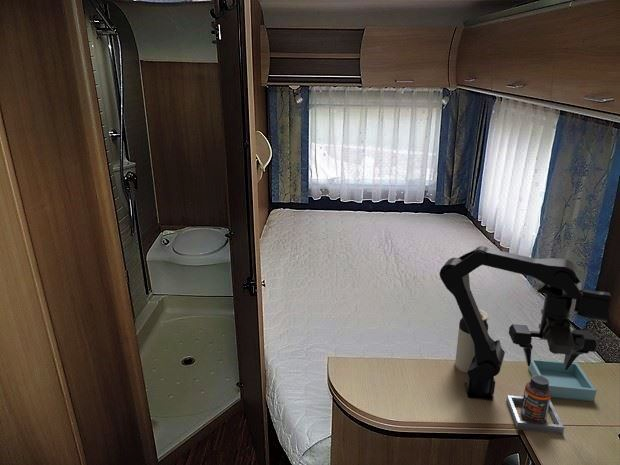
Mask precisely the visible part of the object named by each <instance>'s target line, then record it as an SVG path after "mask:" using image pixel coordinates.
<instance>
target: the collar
mask: <svg viewBox="0 0 620 465" xmlns="http://www.w3.org/2000/svg"><path fill="white" fill-rule="evenodd" d="M523 397H524V396H522V395H521V396H520V395H519V396H518V395H509V394H507V395H506V400H505V401H506V403H507V406H508V410H509V412H510V414H511V417H512V420H513V423H514V426H515V428H516V430H522V431H529V432H538V433H547V434H554V435H555V434H557V435H564V433H565V426H564V424H563V421H562V420H561V418H560V417H559V415H558V412H557V410H556V409H555V406H554V405H553V403H552V401H551V400H550V404H549V408H548V413H549V415H550V417H551V419H552V421H553V423H545V422H544V423H538V422H529V421H527V420H521V418H520V416H519V414H518V410H517V408H516V406H515V404H516V405H517V404H518V405H522V402H523Z"/></svg>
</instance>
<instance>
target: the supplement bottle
mask: <svg viewBox="0 0 620 465" xmlns="http://www.w3.org/2000/svg"><path fill="white" fill-rule="evenodd" d="M548 386H549V380H548V379H547V378H545V377H543V376H541V375H533V376H531V378H530V381H528V382H526V383H525V387H524V392H523V396H522V397H523V402H522V404H521V408H520V415H521V416H522V418H523V419H524V420H525V421H529V422H538V423H545V422H546V421H547V418H548V413H549V411H548V408H549V404H550V401H551V399H552V398H551V389H550V388H549V387H548Z"/></svg>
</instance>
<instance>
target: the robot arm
mask: <svg viewBox="0 0 620 465" xmlns="http://www.w3.org/2000/svg"><path fill="white" fill-rule="evenodd" d="M481 266H487V267H490V268H494V269H498V270H503V271H507V272H511V273H515V274H519V275H523V276H527V277H530V278H533V279H536V280H537V281H540V282H541V284H538V287H537V290H536V291H537V293H539V294H545V295H544V301H543V307H542V308H541V311H540V314H541V321H540V323H538V329H539V331H535V330H530V329H529V327H528V325H526V324H516V323H515V324H514V323H512V324H511V325H510V326H509V328H508V334H509V337H510V339H511V341H512V344H515V345H518V346H519V347H520V348H522V349H523V354H524V358H525V362H526V365H527V367H528V366H530V363H531V359H532V350H533V348H534V346H533V345H532V340H539V341H546V342H547V345H548V349H549V352H550V353H552V354H555V355H558V354H560V355H564V358H563V359H564V361H563V362H564V369H565V370H567V369H568V368H569V367H570V365H571V364H572V363H574V362H575V360H576V359H577V358H578V357H579V356H580V355H584V354H585V355H587V354H589V353H590V352H592V353H596V352H597V351H598V347H599V342H598V341H597V339H596V338H595V336H594V335H593V334H592V333H591V331H589V330H584V329H572V330H571V320H570V315H571V314H570V313H571V310H572V304H573V300H574V306H573V312H576V316H578V317H579V318H584V319H589V320H594V321H598V322H603V323H607V322H608V320H609V316H610V304H611V303H610V300H611V293H610V291H609V292H607V291H598V290H597V291H596V290H592V289H585V288H584V286H583V285H584V284H583V283H582V282H581V280H580V278H579V276H578V274H577V273H578V270H577V266H576V265H575V264H574V263H573V262H572V261H571V260H569V259H566V258H555V257H554V258H553V257H552V258H551V257H550V258H549V257H547V258H534V257H529V256H525V255H521V254H516V253H511V252H506V251H503V250H498V249H493V248H489V247H487V246H484V245H481V246H478V247H476V248H475V249H473V250H471V251H469V252H466V253H464V254H462V255H461V256H459V257H451V258H449V259H448V260H447V261H446V262H445V263H444V265H443V266H442V267H441V268H440V270H439V278H440V280H441V282H442V283H443V285H444V286H445V288H446V289H447V290H448V291H449V292H450V293H451V295H453V297H454V298H455V301H456V304H457V306H458V308H459V310H460V314H461V317H462V316H463V318H464V321H465V323H466V326H467V328H468V330H469V333H470V335H471V338H472V340H473V343H474V349H475V356H474V357H473V359H472V362H471V364H470V367H469V368H468V372H467V375H466V381H465V383H464V387H465V391H466V392H465V393H466V395H467V398H469V399H475V400H485V401H493V400H494V397H493V395H494V393H495V387H496V380H495V376H498V375H499V374H500V371H501V368H502V365H503V361H504V357H505V353H506V352H505V351H504V349H503V347H502V345H501V341H500V339H498V340H494V339H493V338H492V337H491V336H490V335H489V332H488V331H489V330H488V331H487V329H486V327H485V324H484V322H483V319H482V317H481V314H480V312H479V309H480V308H479V307H478V305H477V303H476V300H475V297H474V295H473V293H472V290H471V287H470V286H471V285H470V275H469V274H470V273H471V272H473V271H474V270H476V269H478V268H479V267H481Z"/></svg>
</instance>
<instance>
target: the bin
mask: <svg viewBox="0 0 620 465" xmlns="http://www.w3.org/2000/svg"><path fill="white" fill-rule="evenodd" d="M527 369H528V371H529V373H530V375H531V377H532V376H533V375H541V376H543V377H545V378H547V379H548V380H549V386H548V387H549V388H550V389H551V399H561V400H571V401H573V400H574V401H580V402H581V401H583V402H593V403H594V402H595V399H596V394H597V389H596V388H595V387H594V384H592V382H591V380H590V379H589V377H588V376H587V375H586V374H585V372H584V371H583V369H582V367H581V366H580V365H579V364H578V362H573V363H572V364H571V365H570V367H569V368H568V369H567V370H565V369H564V361H560V360H559V361H558V360H552V359H551V360H549V359H537V358H531V363H530V366H528V365H527Z"/></svg>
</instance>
